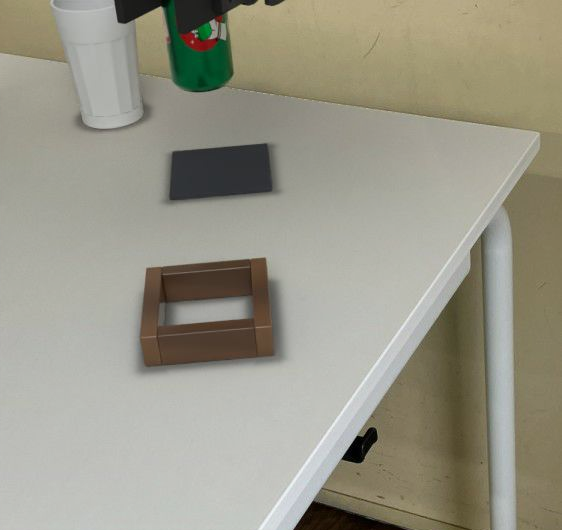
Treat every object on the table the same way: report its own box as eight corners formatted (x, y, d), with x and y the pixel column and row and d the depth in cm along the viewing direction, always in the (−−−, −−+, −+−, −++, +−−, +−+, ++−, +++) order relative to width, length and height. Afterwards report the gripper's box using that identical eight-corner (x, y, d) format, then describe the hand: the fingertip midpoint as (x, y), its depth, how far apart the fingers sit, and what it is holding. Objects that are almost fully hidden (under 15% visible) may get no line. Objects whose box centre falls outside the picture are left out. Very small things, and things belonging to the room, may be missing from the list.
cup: (119, 137, 99) (97, 15, 92) (58, 124, 103) (32, 5, 96) (167, 106, 105) (149, -11, 97) (107, 95, 108) (86, -20, 101)
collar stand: (151, 295, 77) (146, 267, 75) (268, 284, 77) (266, 256, 75) (145, 367, 70) (139, 337, 68) (274, 355, 70) (271, 326, 68)
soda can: (189, 68, 84) (169, -85, 77) (244, 73, 83) (229, -83, 75) (161, 92, 81) (137, -66, 73) (218, 97, 79) (200, -64, 72)
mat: (173, 155, 96) (172, 151, 95) (267, 146, 96) (267, 142, 95) (170, 200, 89) (169, 196, 88) (272, 191, 89) (271, 187, 88)
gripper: (407, -19, 87) (254, 79, 72) (236, -40, 95) (67, 43, 80) (408, -113, 82) (244, -30, 67) (228, -127, 90) (47, -56, 76)
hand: (148, 10), depth 74 cm, fingers closed on soda can, 5 cm apart
